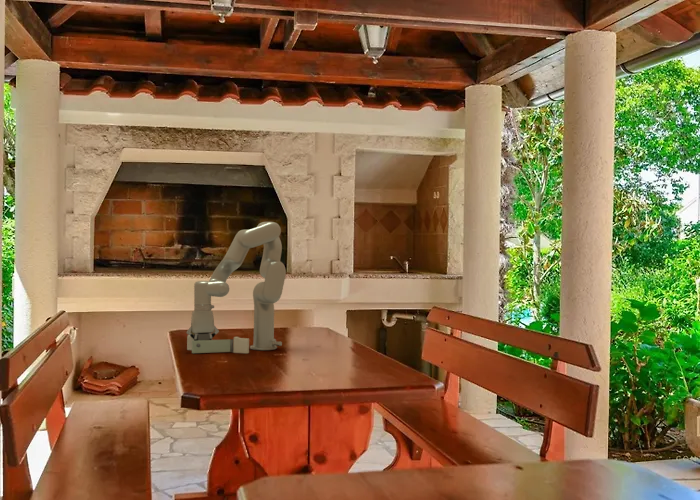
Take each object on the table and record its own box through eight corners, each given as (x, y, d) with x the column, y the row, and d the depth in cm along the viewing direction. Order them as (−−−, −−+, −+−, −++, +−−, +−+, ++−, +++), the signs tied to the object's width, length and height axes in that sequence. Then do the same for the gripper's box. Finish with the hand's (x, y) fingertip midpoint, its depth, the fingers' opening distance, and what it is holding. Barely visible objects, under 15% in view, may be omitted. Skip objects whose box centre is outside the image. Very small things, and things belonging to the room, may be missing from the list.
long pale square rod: (232, 351, 346) (232, 339, 346) (233, 351, 344) (234, 339, 344) (191, 352, 339) (192, 340, 339) (192, 353, 337) (193, 341, 337)
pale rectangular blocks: (249, 352, 345) (249, 337, 345) (247, 353, 342) (247, 338, 342) (189, 349, 352) (189, 334, 352) (186, 349, 349) (187, 334, 349)
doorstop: (206, 349, 349) (206, 332, 349) (209, 351, 342) (209, 334, 342) (195, 350, 347) (195, 332, 347) (198, 352, 340) (198, 334, 340)
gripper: (219, 306, 351) (219, 345, 351) (182, 308, 344) (182, 347, 345) (223, 308, 344) (223, 348, 344) (185, 309, 337) (185, 350, 338)
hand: (202, 347), depth 344 cm, fingers closed on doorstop, 5 cm apart
